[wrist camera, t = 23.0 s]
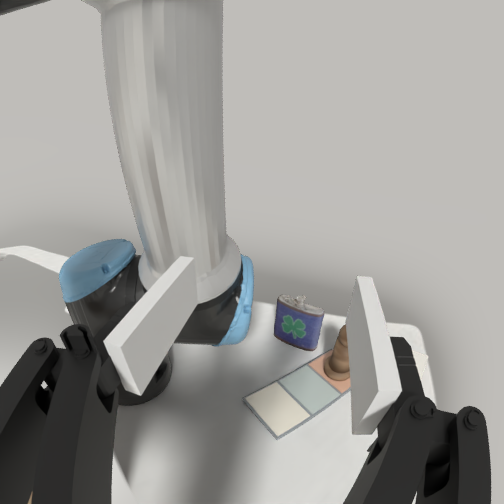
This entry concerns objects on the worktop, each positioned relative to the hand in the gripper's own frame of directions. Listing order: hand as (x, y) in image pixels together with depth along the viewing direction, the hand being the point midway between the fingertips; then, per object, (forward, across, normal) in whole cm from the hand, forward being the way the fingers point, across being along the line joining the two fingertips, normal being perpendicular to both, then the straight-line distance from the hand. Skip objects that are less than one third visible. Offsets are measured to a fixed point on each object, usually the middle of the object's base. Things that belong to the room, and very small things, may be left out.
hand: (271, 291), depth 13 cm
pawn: (+22, +10, -29) cm, 38 cm away
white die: (+20, +22, -30) cm, 42 cm away
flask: (+29, +2, -30) cm, 42 cm away
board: (+17, +6, -30) cm, 35 cm away
